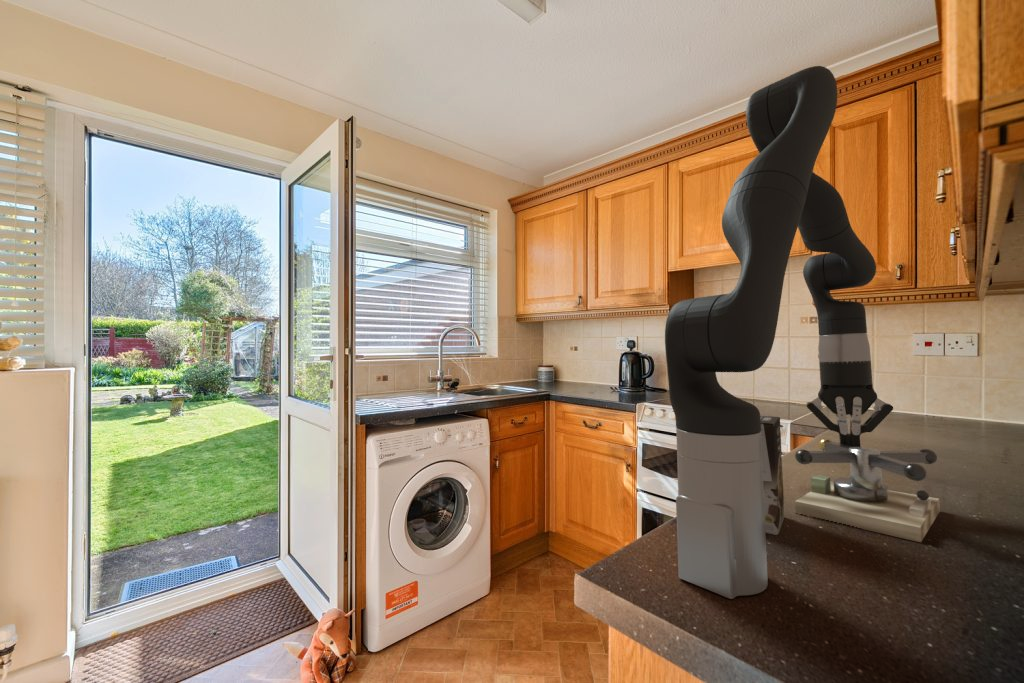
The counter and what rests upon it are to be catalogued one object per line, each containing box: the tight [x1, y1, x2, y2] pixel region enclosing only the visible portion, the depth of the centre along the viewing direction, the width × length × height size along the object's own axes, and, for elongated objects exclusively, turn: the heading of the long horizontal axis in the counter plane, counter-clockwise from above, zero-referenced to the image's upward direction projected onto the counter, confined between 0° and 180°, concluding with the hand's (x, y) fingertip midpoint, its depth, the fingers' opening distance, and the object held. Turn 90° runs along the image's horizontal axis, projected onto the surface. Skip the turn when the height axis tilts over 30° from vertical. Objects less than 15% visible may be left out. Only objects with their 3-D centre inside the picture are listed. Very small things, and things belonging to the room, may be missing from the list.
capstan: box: [794, 438, 938, 501], centre depth 71 cm, size 22×22×8 cm
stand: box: [794, 474, 941, 543], centre depth 70 cm, size 18×15×4 cm
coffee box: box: [760, 415, 785, 536], centre depth 68 cm, size 9×6×16 cm
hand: (850, 454), depth 78 cm, fingers closed
